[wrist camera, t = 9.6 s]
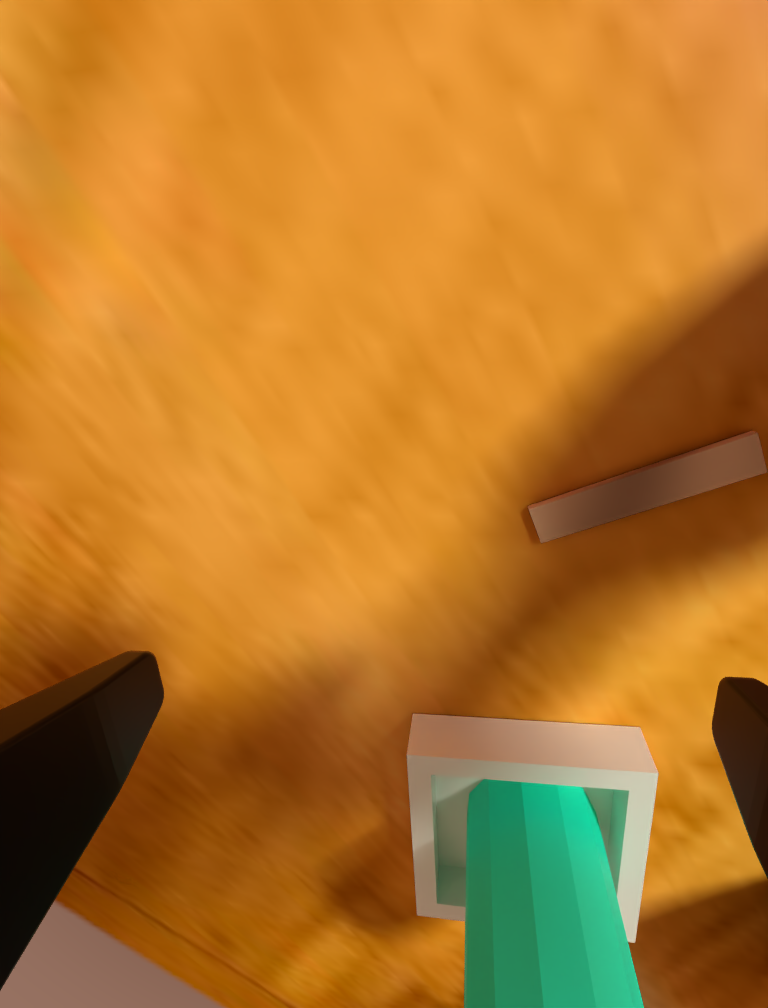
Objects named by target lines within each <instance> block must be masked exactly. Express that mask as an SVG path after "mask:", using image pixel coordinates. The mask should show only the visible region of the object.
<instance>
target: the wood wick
mask: <svg viewBox="0 0 768 1008" xmlns="http://www.w3.org/2000/svg"><path fill="white" fill-rule="evenodd" d="M764 473H767V468H766V464H765V460H764V456H763V452H762V448H761V443H760V439H759V435H758V433H757V432H755V431H749V432H746V433H743V434H740V435H737V436H734V437H731V438H728V439H725V440H722V441H719V442H717V443H714V444H711V445H708V446H705V447H702V448H699V449H696V450H693V451H690V452H687V453H684V454H681V455H678V456H675V457H672V458H669V459H666V460H663V461H660V462H657V463H654V464H651V465H648V466H645V467H642V468H639V469H636V470H633V471H630V472H627V473H624V474H621V475H618V476H615V477H612V478H609V479H606V480H603V481H601V482H598V483H595V484H592V485H589V486H586V487H583V488H580V489H577V490H574V491H571V492H568V493H565V494H562V495H559V496H556V497H553V498H550V499H547V500H544V501H541V502H538V503H535V504H532V505H529V506H528V509H529V512H530V515H531V517H532V520H533V523H534V525H535V528H536V531H537V533H538V536H539V539H540V541H541V543H544V542H547V541H550V540H554V539H557V538H560V537H563V536H566V535H570V534H573V533H576V532H579V531H582V530H586V529H589V528H592V527H595V526H598V525H601V524H605V523H608V522H611V521H614V520H617V519H621V518H624V517H627V516H630V515H633V514H636V513H640V512H643V511H646V510H649V509H652V508H656V507H659V506H662V505H665V504H668V503H671V502H675V501H678V500H681V499H684V498H687V497H691V496H694V495H697V494H700V493H703V492H706V491H710V490H713V489H716V488H719V487H722V486H726V485H729V484H732V483H735V482H738V481H742V480H745V479H748V478H751V477H754V476H757V475H761V474H764Z"/></svg>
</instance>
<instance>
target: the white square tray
mask: <svg viewBox="0 0 768 1008" xmlns="http://www.w3.org/2000/svg"><path fill="white" fill-rule="evenodd" d="M407 769H408V785H409V800H410V816H411V831H412V846H413V862H414V877H415V893H416V908H417V915H418V916H426V917H434V918H442V919H450V920H458V921H465V911H466V841H467V811H468V801H469V793H470V792H471V791H472V790H473V789H474V788H475V787H476V786H477V785H478V784H479V783H480V782H481V781H482V780H483V779H490V780H503V781H515V782H528V783H540V784H553V785H565V786H578V787H582V788H583V789H584V791H585V793H586V795H587V796H588V798H589V800H590V802H591V804H592V806H593V808H594V809H595V811H596V814H597V818H598V822H599V826H600V830H601V834H602V838H603V842H604V846H605V850H606V854H607V859H608V863H609V867H610V871H611V875H612V879H613V883H614V887H615V891H616V895H617V899H618V903H619V908H620V912H621V916H622V920H623V924H624V928H625V932H626V936H627V940H628V942H632V943H635V940H636V933H637V926H638V919H639V911H640V904H641V897H642V889H643V882H644V875H645V868H646V860H647V853H648V846H649V839H650V831H651V824H652V817H653V809H654V802H655V795H656V788H657V780H658V771H657V769H656V766H655V764H654V761H653V759H652V756H651V754H650V751H649V749H648V746H647V744H646V741H645V739H644V736H643V734H642V731H641V729H640V727H629V726H612V725H596V724H579V723H563V722H546V721H530V720H513V719H497V718H480V717H463V716H447V715H430V714H414V713H413V716H412V722H411V729H410V736H409V742H408V749H407Z"/></svg>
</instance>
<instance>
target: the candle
mask: <svg viewBox="0 0 768 1008" xmlns="http://www.w3.org/2000/svg"><path fill="white" fill-rule="evenodd" d="M464 1008H644V1005H643V1001H642V997H641V993H640V989H639V985H638V981H637V977H636V973H635V969H634V965H633V961H632V956H631V952H630V948H629V944H628V940H627V936H626V932H625V928H624V924H623V920H622V916H621V912H620V908H619V903H618V899H617V895H616V891H615V887H614V883H613V879H612V875H611V871H610V867H609V863H608V859H607V854H606V850H605V846H604V842H603V838H602V834H601V830H600V826H599V822H598V818H597V814H596V811H595V809H594V808H593V806H592V804H591V802H590V800H589V798H588V796H587V795H586V793H585V791H584V789H583V788H582V787H578V786H565V785H553V784H540V783H528V782H515V781H503V780H490V779H483V780H482V781H481V782H480V783H479V784H478V785H477V786H476V787H475V788H474V789H473V790H472V791H471V792H470V793H469V801H468V811H467V841H466V911H465V980H464Z"/></svg>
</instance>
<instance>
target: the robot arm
mask: <svg viewBox="0 0 768 1008" xmlns="http://www.w3.org/2000/svg"><path fill="white" fill-rule="evenodd" d="M163 698H164V689H163V685H162V681H161V676H160V672H159V668H158V664H157V660H156V657H155V656H154V654H153V653H151V652H149V651H127V652H125V653H122V654H120V655H118V656H116V657H114V658H112V659H109V660H107V661H105V662H103V663H101V664H99V665H96V666H94V667H92V668H90V669H88V670H86V671H83V672H81V673H79V674H77V675H75V676H73V677H71V678H68V679H66V680H64V681H62V682H60V683H58V684H55V685H53V686H51V687H49V688H47V689H45V690H42V691H40V692H38V693H36V694H34V695H32V696H29V697H27V698H25V699H23V700H21V701H19V702H16V703H14V704H12V705H10V706H8V707H6V708H3V709H1V710H0V990H1V989H2V987H3V985H4V984H5V982H6V980H7V979H8V977H9V975H10V974H11V972H12V970H13V969H14V967H15V965H16V964H17V962H18V960H19V959H20V957H21V955H22V954H23V952H24V950H25V949H26V947H27V945H28V943H29V942H30V940H31V939H32V937H33V935H34V934H35V932H36V930H37V929H38V927H39V925H40V923H41V922H42V920H43V918H44V917H45V915H46V913H47V912H48V910H49V909H50V907H51V905H52V904H53V902H54V900H55V899H56V897H57V895H58V894H59V892H60V890H61V889H62V887H63V885H64V884H65V882H66V880H67V879H68V877H69V875H70V874H71V872H72V870H73V869H74V867H75V865H76V864H77V862H78V860H79V859H80V857H81V855H82V854H83V852H84V850H85V849H86V847H87V845H88V844H89V842H90V840H91V839H92V837H93V835H94V834H95V832H96V830H97V829H98V827H99V825H100V824H101V822H102V820H103V819H104V817H105V815H106V814H107V812H108V810H109V809H110V807H111V805H112V804H113V802H114V800H115V798H116V797H117V795H118V793H119V791H120V790H121V788H122V786H123V784H124V782H125V780H126V778H127V776H128V774H129V772H130V770H131V768H132V766H133V764H134V762H135V760H136V758H137V756H138V754H139V751H140V749H141V747H142V745H143V743H144V741H145V739H146V737H147V735H148V733H149V731H150V729H151V727H152V725H153V722H154V720H155V718H156V716H157V714H158V712H159V710H160V708H161V706H162V703H163ZM712 732H713V737H714V741H715V744H716V747H717V749H718V752H719V755H720V758H721V760H722V763H723V766H724V769H725V772H726V774H727V777H728V780H729V783H730V785H731V788H732V791H733V794H734V797H735V799H736V802H737V805H738V808H739V810H740V813H741V816H742V819H743V822H744V824H745V827H746V830H747V832H748V835H749V838H750V840H751V843H752V845H753V848H754V850H755V852H756V855H757V857H758V859H759V861H760V863H761V866H762V868H763V870H764V872H765V874H766V876H767V878H768V686H767V685H766V684H764V683H762V682H760V681H759V680H757V679H754V678H742V677H725V678H723V679H722V680H721V681H720V683H719V686H718V691H717V697H716V702H715V708H714V714H713V720H712Z"/></svg>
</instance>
